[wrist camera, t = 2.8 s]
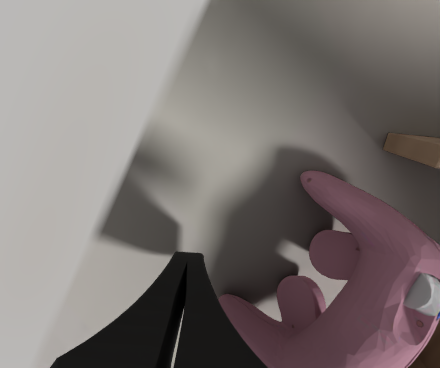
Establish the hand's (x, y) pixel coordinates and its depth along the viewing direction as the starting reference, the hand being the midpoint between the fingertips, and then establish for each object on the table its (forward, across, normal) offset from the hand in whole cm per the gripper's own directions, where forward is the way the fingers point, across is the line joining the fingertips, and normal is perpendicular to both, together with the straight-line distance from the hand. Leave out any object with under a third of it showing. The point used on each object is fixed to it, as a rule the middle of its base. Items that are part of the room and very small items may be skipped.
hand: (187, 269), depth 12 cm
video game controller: (+2, -6, 0) cm, 6 cm away
